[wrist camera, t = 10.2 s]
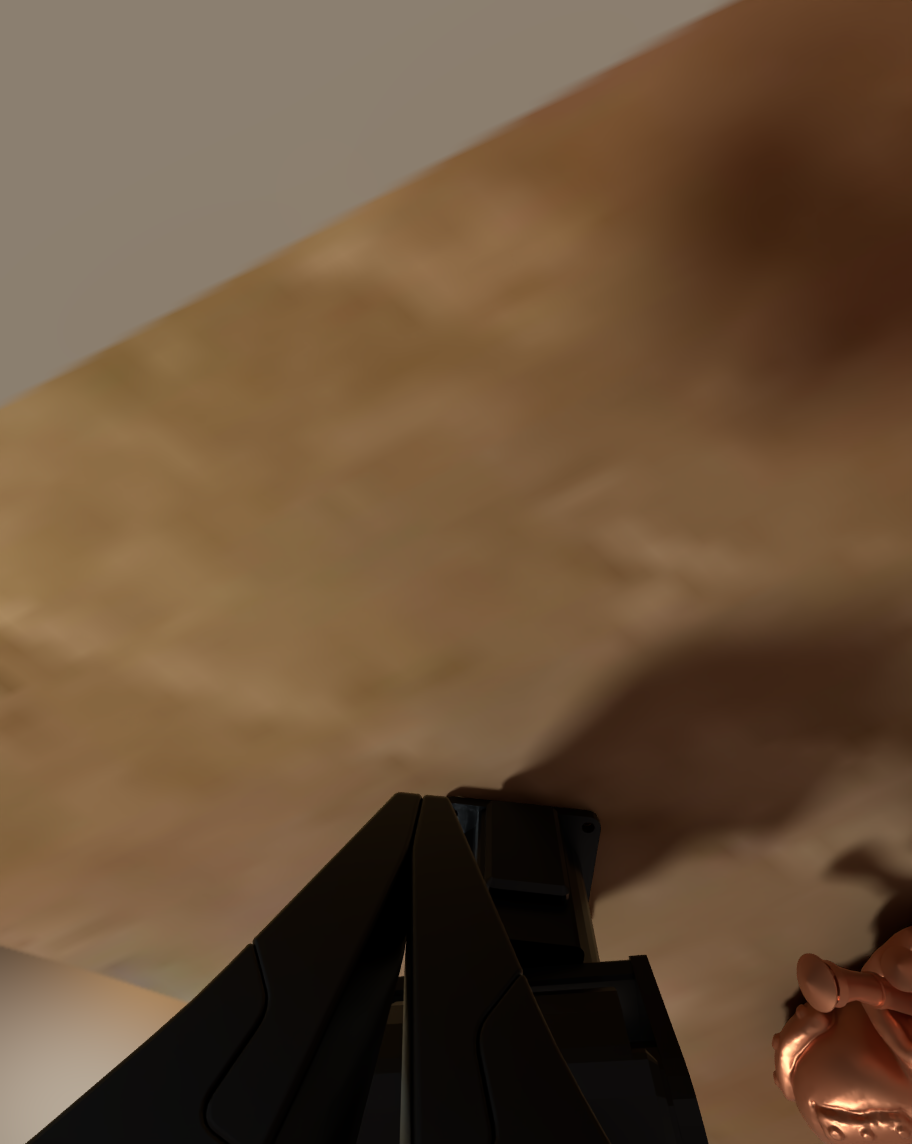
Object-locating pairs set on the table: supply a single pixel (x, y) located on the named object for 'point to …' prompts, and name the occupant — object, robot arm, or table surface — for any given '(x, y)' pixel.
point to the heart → (852, 1047)
